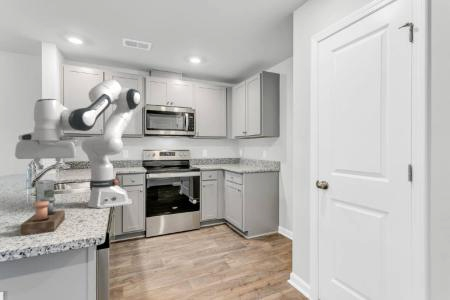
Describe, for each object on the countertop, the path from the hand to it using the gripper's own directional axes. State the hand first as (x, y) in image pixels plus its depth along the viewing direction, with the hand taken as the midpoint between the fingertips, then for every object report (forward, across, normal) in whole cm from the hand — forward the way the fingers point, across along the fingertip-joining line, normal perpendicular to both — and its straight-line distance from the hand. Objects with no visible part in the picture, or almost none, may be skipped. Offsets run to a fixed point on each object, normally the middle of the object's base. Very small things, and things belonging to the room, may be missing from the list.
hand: (47, 169), depth 92 cm
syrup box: (+23, +10, -33) cm, 42 cm away
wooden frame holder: (+23, 0, +4) cm, 23 cm away
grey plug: (+19, 0, 0) cm, 19 cm away
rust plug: (+19, 0, +8) cm, 20 cm away
